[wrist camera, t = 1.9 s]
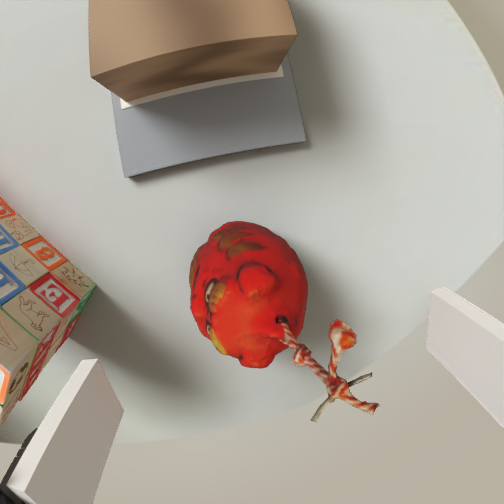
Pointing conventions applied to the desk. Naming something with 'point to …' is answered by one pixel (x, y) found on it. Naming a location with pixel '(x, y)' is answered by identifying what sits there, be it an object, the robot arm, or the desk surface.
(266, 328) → the red clay folk toy
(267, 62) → the plinth
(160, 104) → the board
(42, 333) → the stack of blocks
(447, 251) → the desk surface
